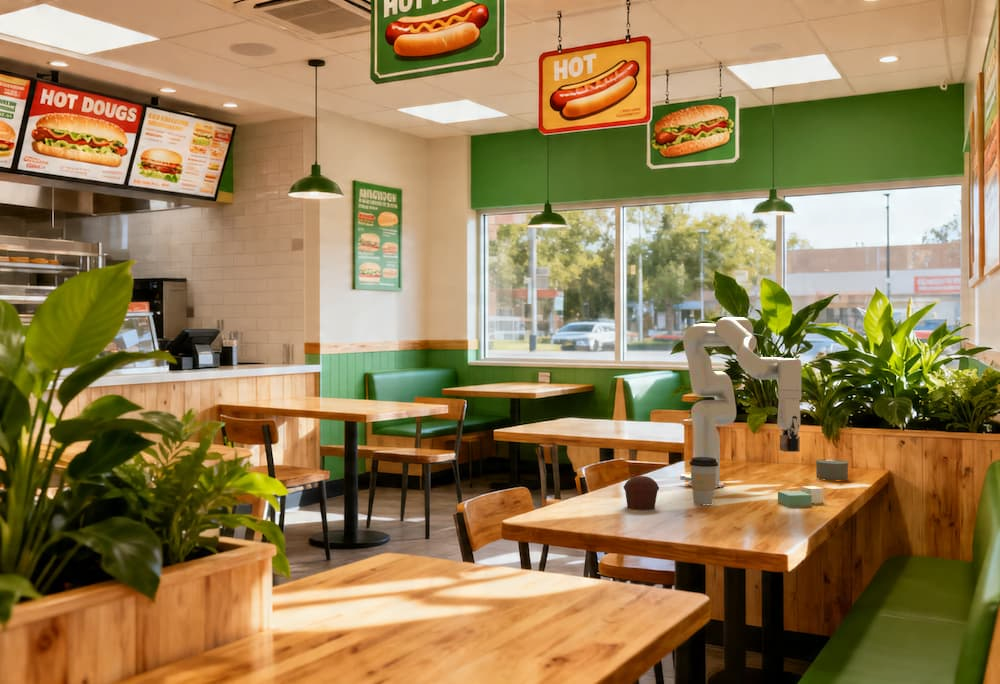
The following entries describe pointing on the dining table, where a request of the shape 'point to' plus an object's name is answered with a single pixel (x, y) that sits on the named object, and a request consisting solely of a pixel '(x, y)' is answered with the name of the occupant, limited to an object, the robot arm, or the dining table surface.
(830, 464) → the can
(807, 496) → the green base
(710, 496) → the coffee cup
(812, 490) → the cream cube
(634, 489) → the muffin
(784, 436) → the walnut cube
